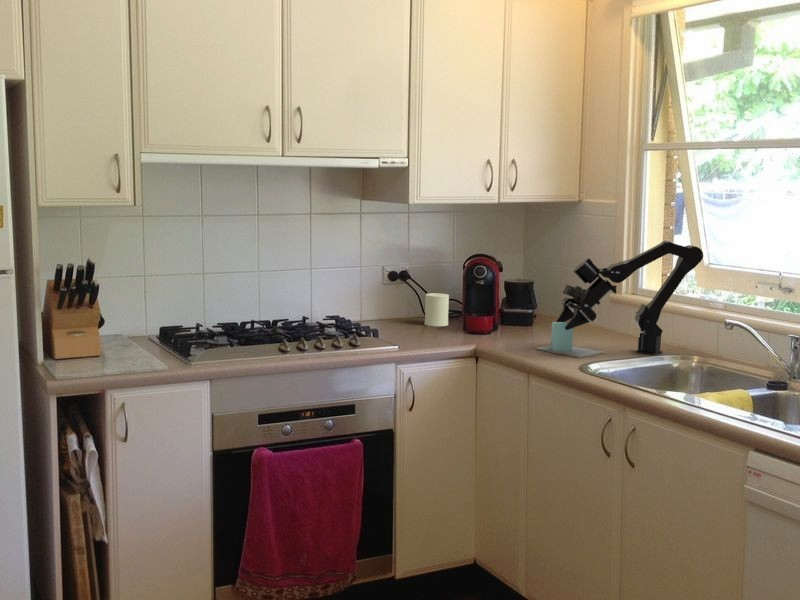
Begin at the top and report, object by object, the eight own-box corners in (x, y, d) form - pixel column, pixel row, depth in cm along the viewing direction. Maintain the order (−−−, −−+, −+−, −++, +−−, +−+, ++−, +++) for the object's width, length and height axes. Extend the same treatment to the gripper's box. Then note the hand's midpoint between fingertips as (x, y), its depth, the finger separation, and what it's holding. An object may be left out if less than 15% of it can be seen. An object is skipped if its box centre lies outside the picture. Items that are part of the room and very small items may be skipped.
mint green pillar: (572, 350, 300) (573, 323, 299) (554, 351, 299) (555, 324, 298) (567, 348, 304) (569, 322, 302) (550, 348, 303) (551, 322, 301)
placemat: (603, 353, 299) (603, 351, 299) (580, 357, 290) (580, 356, 290) (558, 344, 312) (558, 343, 312) (535, 349, 303) (535, 348, 303)
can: (451, 323, 352) (452, 292, 350) (444, 327, 343) (445, 295, 341) (428, 321, 355) (429, 291, 353) (421, 325, 346) (422, 294, 344)
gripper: (569, 273, 308) (536, 305, 308) (588, 279, 290) (554, 314, 289) (590, 296, 310) (557, 328, 310) (611, 304, 292) (576, 338, 292)
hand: (560, 326), depth 300 cm, fingers open, 9 cm apart
